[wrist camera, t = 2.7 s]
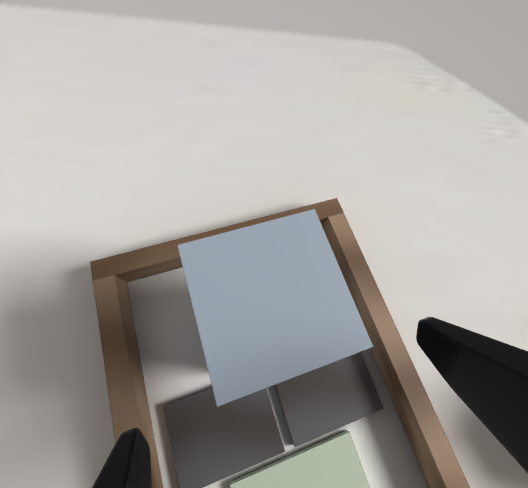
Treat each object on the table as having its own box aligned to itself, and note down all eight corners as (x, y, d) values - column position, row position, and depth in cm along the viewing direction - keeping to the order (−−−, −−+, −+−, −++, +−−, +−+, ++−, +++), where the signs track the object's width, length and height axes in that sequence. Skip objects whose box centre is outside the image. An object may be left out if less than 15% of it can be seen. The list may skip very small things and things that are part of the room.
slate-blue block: (295, 348, 18) (373, 347, 8) (227, 373, 17) (217, 406, 7) (272, 282, 20) (314, 208, 9) (208, 302, 19) (177, 245, 8)
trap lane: (523, 652, 14) (566, 698, 12) (199, 883, 11) (192, 992, 9) (328, 211, 22) (336, 198, 20) (104, 270, 19) (90, 261, 17)
